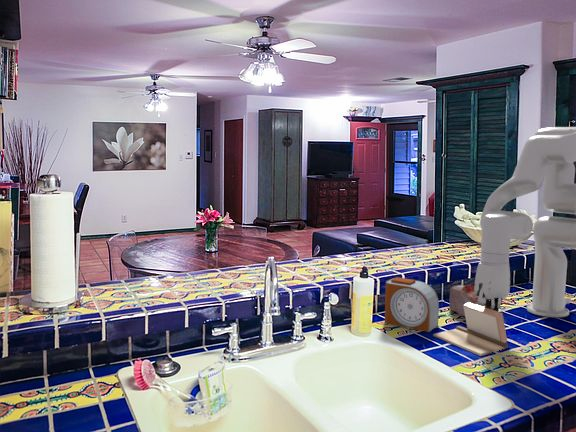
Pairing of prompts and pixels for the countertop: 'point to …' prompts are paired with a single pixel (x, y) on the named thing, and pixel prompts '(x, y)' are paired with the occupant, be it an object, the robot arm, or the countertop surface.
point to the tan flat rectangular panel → (468, 342)
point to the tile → (485, 321)
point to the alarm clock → (411, 304)
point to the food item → (462, 298)
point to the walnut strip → (483, 336)
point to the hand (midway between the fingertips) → (491, 320)
